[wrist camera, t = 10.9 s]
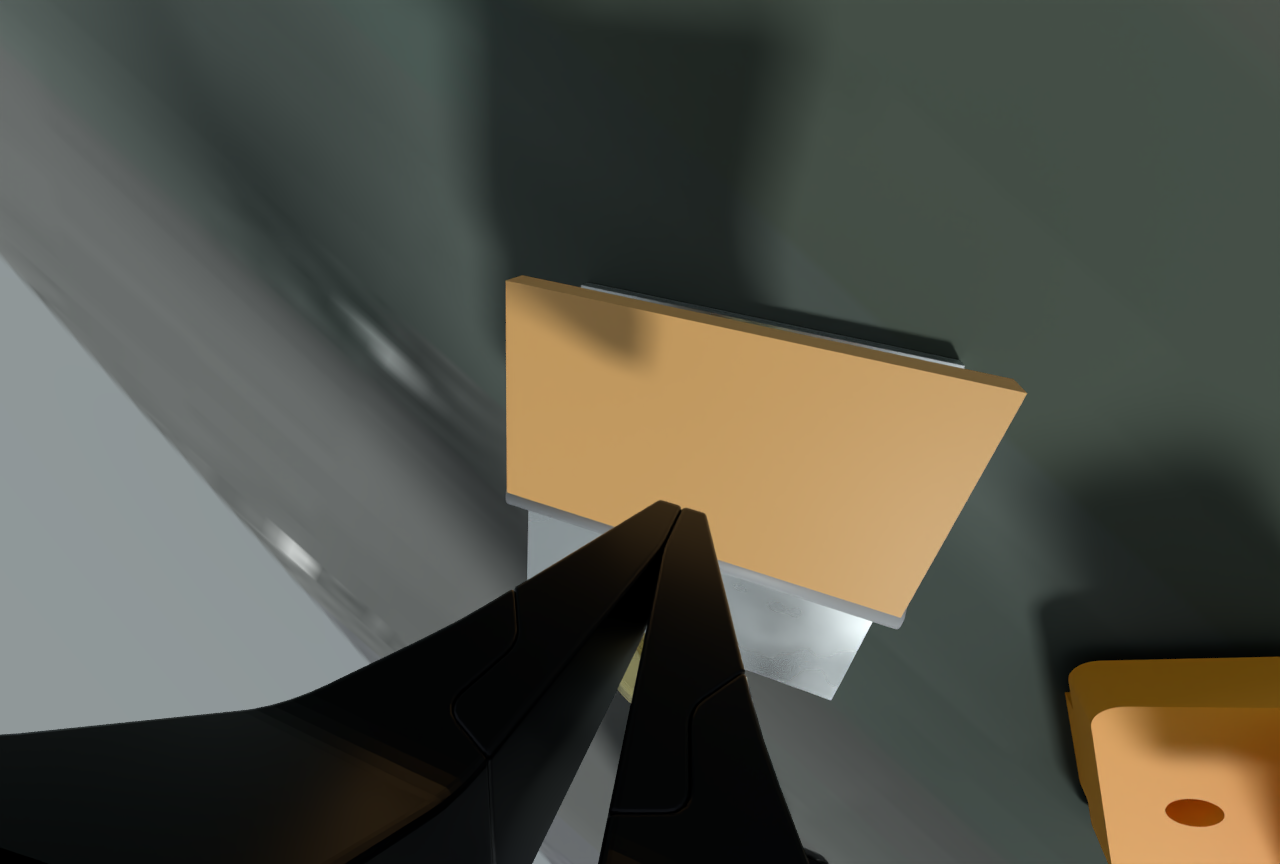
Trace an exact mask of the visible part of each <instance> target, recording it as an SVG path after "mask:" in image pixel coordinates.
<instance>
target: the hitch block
mask: <svg viewBox="0 0 1280 864" xmlns="http://www.w3.org/2000/svg"><path fill="white" fill-rule="evenodd" d="M581 288H585V289H590V290H595V291H599V292H604V293H609V294H614V295H618V296H623V297H628V298H633V299H637V300H642V301H647V302H651V303H656V304H661V305H666V306H670V307H675V308H680V309H684V310H689V311H694V312H699V313H703V314H708V315H713V316H717V317H722V318H727V319H732V320H736V321H741V322H746V323H750V324H755V325H760V326H765V327H769V328H774V329H779V330H784V331H788V332H793V333H798V334H802V335H807V336H812V337H817V338H821V339H826V340H831V341H835V342H840V343H845V344H850V345H854V346H859V347H864V348H868V349H873V350H878V351H883V352H887V353H892V354H897V355H901V356H906V357H911V358H916V359H920V360H925V361H930V362H934V363H939V364H944V365H949V366H953V367H958V368H963V369H964V367H965V366H964V364H963V363H962V362H961V361H960V360H958V359H953V358H948V357H943V356H938V355H934V354H929V353H924V352H919V351H914V350H910V349H905V348H900V347H895V346H891V345H886V344H881V343H876V342H871V341H867V340H862V339H857V338H852V337H847V336H843V335H838V334H833V333H828V332H823V331H819V330H814V329H809V328H804V327H800V326H795V325H790V324H785V323H780V322H776V321H771V320H766V319H761V318H756V317H752V316H747V315H742V314H737V313H732V312H728V311H723V310H718V309H713V308H709V307H704V306H699V305H694V304H689V303H685V302H680V301H675V300H670V299H665V298H661V297H656V296H651V295H646V294H642V293H637V292H632V291H627V290H622V289H618V288H613V287H608V286H603V285H598V284H594V283H589V282H587V283H585V284H583V285H581ZM601 535H602V534H600V533H597V532H594V531H591V530H588V529H585V528H581V527H578V526H575V525H572V524H569V523H566V522H563V521H560V520H557V519H554V518H551V517H547V516H544V515H541V514H538V513H535V512H532V511H529V510H528V562H527V580H528V579H530V578H532V577H533V576H535V575H536V574H538V573H540V572H541V571H543V570H545V569H546V568H548V567H550V566H551V565H553V564H555V563H556V562H558V561H559V560H561V559H563V558H564V557H566V556H568V555H569V554H571V553H573V552H574V551H576V550H578V549H579V548H581V547H582V546H584V545H586V544H587V543H589V542H591V541H592V540H594V539H596V538H597V537H599V536H601ZM721 576H722V580H723V584H724V588H725V592H726V596H727V600H728V604H729V608H730V612H731V616H732V621H733V625H734V629H735V633H736V637H737V641H738V645H739V649H740V653H741V657H742V661H743V665H744V669H746V670H748V671H751V672H754V673H757V674H759V675H762V676H765V677H768V678H771V679H773V680H776V681H779V682H782V683H784V684H787V685H790V686H793V687H795V688H798V689H801V690H804V691H806V692H809V693H812V694H815V695H817V696H820V697H823V698H826V699H829V700H832V698H833V696H834V694H835V692H836V690H837V688H838V686H839V685H840V683H841V681H842V679H843V677H844V675H845V673H846V671H847V669H848V667H849V666H850V664H851V662H852V660H853V658H854V656H855V654H856V652H857V650H858V648H859V647H860V645H861V643H862V641H863V639H864V637H865V635H866V633H867V631H868V629H869V628H870V626H871V624H872V621H869V620H866V619H863V618H860V617H856V616H853V615H850V614H847V613H844V612H841V611H838V610H835V609H832V608H829V607H826V606H822V605H819V604H816V603H813V602H810V601H807V600H804V599H801V598H798V597H795V596H792V595H788V594H785V593H782V592H779V591H776V590H773V589H770V588H767V587H764V586H761V585H758V584H754V583H751V582H748V581H745V580H742V579H739V578H736V577H733V576H730V575H727V574H724V573H721ZM645 632H646V630H645Z"/></svg>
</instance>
